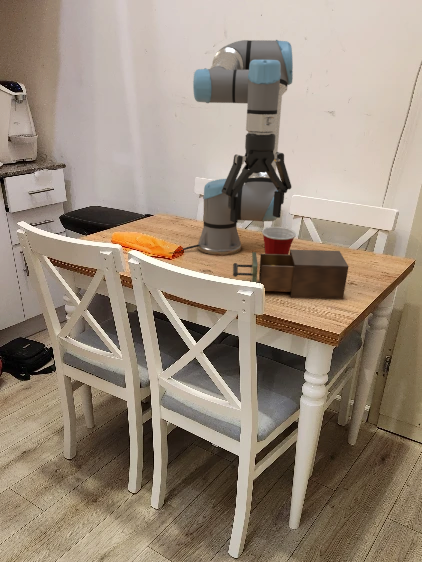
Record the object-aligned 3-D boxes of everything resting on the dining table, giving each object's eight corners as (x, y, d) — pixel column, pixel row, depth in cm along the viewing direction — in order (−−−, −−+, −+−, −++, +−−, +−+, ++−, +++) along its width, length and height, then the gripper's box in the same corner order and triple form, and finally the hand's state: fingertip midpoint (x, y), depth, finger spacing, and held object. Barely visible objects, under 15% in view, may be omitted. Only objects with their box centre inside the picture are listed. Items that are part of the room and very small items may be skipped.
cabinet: (291, 297, 137) (294, 264, 132) (286, 280, 148) (290, 249, 143) (343, 299, 136) (348, 266, 131) (334, 281, 148) (339, 250, 143)
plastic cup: (269, 275, 151) (272, 237, 145) (253, 264, 160) (255, 228, 153) (298, 271, 155) (303, 234, 149) (281, 261, 164) (285, 225, 157)
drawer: (232, 291, 137) (233, 265, 133) (232, 276, 148) (233, 251, 144) (299, 293, 137) (302, 267, 133) (294, 278, 147) (297, 253, 143)
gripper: (223, 136, 114) (221, 227, 125) (310, 132, 123) (300, 217, 134) (209, 133, 119) (208, 220, 131) (293, 129, 129) (285, 211, 140)
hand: (255, 219), depth 133 cm, fingers open, 13 cm apart
